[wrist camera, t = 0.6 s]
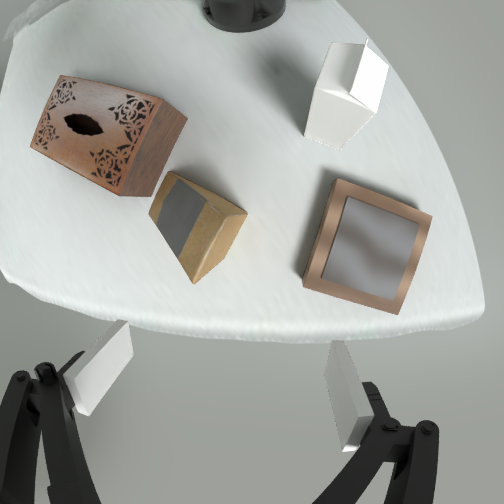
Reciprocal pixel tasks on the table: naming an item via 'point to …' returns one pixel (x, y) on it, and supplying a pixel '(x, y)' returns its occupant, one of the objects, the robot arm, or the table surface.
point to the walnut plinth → (366, 248)
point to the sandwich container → (195, 224)
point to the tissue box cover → (108, 134)
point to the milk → (345, 94)
